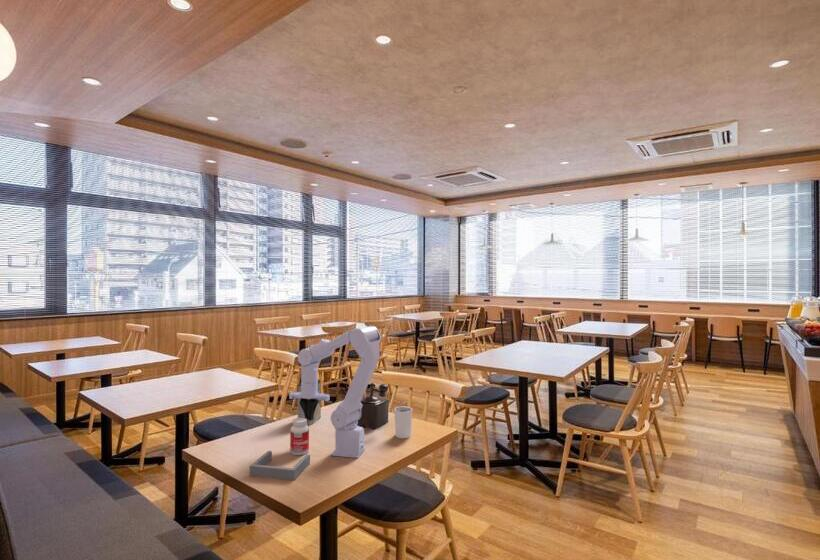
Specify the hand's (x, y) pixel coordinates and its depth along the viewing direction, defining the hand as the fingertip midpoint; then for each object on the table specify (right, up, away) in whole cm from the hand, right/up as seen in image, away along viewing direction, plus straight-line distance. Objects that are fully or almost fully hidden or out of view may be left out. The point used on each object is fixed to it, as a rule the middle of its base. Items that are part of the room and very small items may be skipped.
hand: (309, 419), depth 157 cm
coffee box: (-5, -8, +24) cm, 25 cm away
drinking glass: (+33, -9, +8) cm, 36 cm away
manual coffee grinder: (+22, -9, +19) cm, 31 cm away
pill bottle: (-2, -9, -8) cm, 12 cm away
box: (-4, -9, -21) cm, 23 cm away
